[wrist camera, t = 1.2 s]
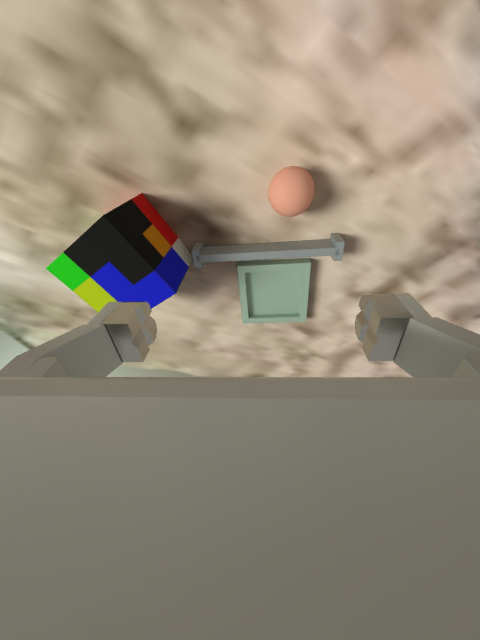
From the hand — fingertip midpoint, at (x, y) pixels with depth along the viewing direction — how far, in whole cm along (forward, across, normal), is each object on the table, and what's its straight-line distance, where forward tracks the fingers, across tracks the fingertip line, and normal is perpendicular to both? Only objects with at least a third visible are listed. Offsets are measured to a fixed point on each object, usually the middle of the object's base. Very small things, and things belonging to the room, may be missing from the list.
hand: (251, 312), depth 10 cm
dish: (+26, -2, +14) cm, 30 cm away
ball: (+23, -4, 0) cm, 24 cm away
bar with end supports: (+26, -1, +7) cm, 27 cm away
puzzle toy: (+26, +16, +6) cm, 31 cm away
